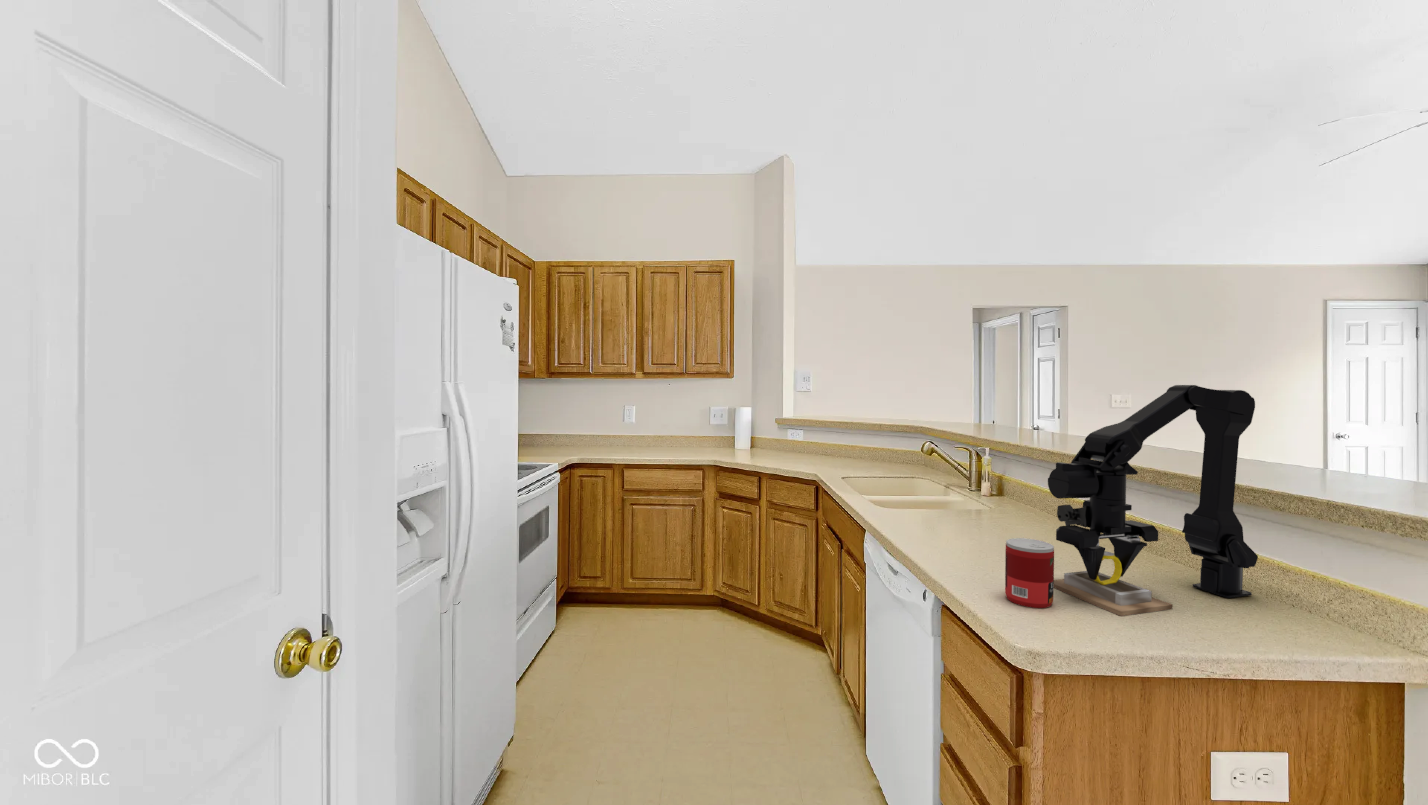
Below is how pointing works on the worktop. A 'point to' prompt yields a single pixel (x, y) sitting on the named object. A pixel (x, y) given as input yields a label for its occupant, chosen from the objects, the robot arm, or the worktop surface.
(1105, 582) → the watch
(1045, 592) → the canned food
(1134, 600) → the track board
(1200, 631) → the worktop surface
